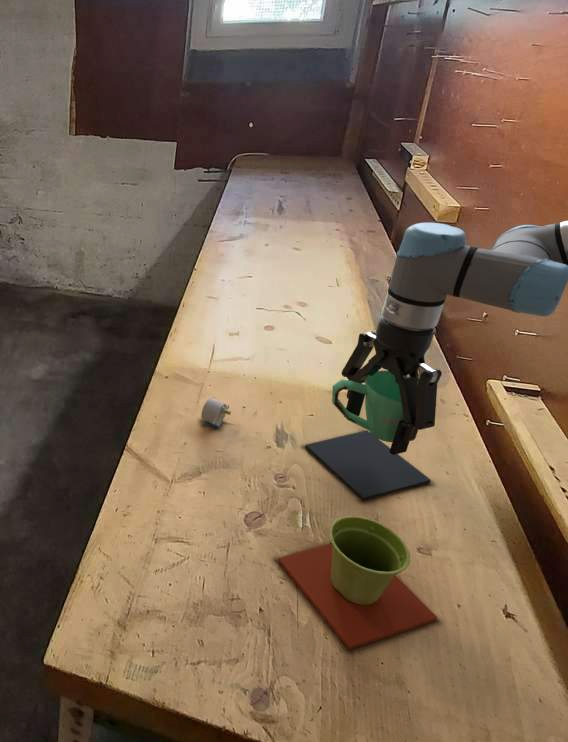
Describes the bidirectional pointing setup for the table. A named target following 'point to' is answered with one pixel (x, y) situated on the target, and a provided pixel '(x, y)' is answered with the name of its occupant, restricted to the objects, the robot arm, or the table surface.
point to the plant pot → (365, 558)
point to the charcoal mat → (366, 465)
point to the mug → (375, 404)
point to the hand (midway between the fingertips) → (373, 433)
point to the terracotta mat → (349, 618)
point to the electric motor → (214, 412)
